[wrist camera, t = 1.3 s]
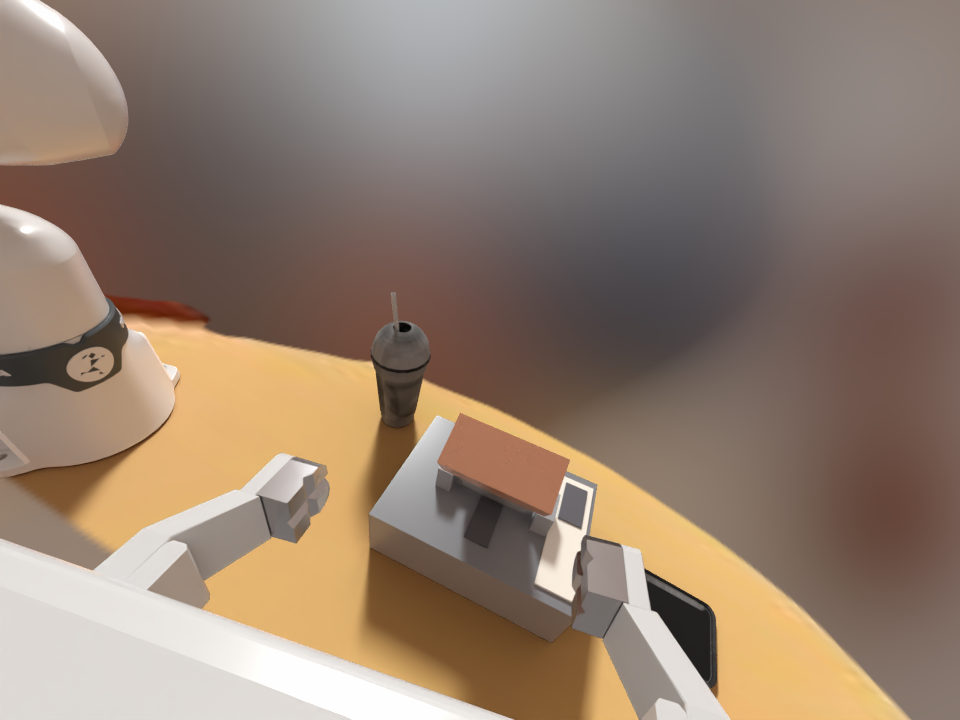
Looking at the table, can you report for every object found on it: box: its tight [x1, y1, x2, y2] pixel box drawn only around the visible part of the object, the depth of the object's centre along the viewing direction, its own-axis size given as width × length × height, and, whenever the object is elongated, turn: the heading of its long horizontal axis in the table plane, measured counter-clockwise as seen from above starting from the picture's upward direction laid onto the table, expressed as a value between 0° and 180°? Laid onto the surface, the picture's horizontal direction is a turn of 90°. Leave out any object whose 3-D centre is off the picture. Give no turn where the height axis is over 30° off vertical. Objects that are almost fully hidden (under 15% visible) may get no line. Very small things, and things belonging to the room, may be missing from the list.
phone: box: [644, 569, 717, 688], centre depth 39 cm, size 8×1×15 cm
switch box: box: [369, 415, 597, 643], centre depth 39 cm, size 20×14×10 cm
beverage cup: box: [371, 293, 431, 428], centre depth 47 cm, size 7×7×20 cm
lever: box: [437, 413, 570, 517], centre depth 30 cm, size 8×3×18 cm, turn 69°
